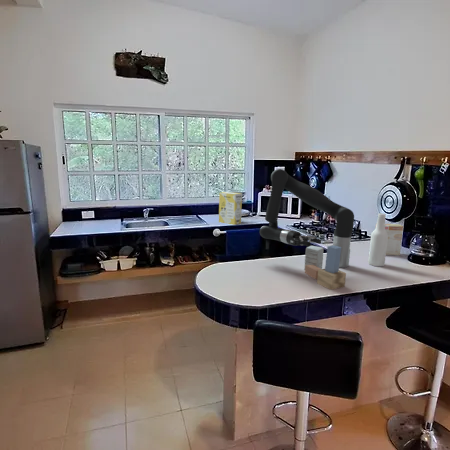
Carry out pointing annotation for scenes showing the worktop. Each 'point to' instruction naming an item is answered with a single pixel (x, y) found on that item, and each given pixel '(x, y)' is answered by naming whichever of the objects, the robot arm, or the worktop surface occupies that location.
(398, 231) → the coffeecake box
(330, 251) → the blue post block
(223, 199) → the pasta box
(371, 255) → the alcohol
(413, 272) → the worktop surface
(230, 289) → the worktop surface
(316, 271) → the terracotta block
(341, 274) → the oak base block
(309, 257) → the grey upright block
